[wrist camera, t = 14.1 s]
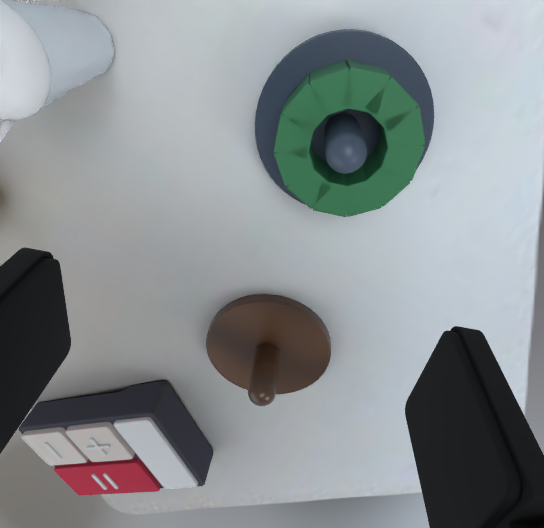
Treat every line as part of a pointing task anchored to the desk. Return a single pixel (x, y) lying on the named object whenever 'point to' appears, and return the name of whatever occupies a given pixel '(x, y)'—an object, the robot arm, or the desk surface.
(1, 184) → the desk surface
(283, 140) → the ring
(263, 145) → the slate peg
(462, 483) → the robot arm
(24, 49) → the milkshake
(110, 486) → the calculator
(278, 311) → the walnut peg
